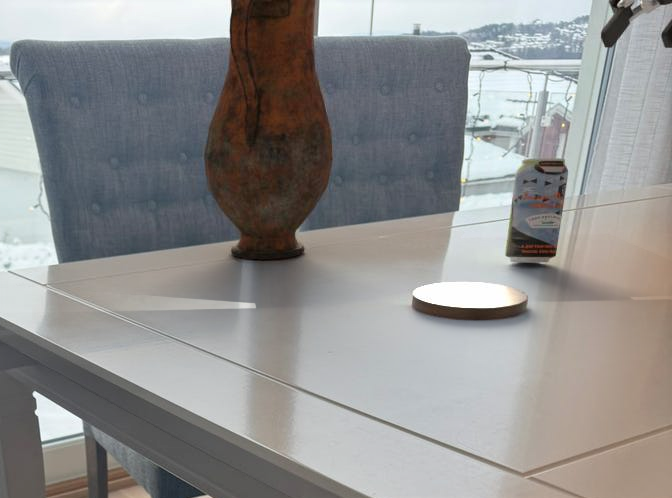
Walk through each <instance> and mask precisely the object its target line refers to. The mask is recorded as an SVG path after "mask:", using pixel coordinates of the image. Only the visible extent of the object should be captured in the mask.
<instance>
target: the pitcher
mask: <svg viewBox="0 0 672 498" xmlns="http://www.w3.org/2000/svg"><path fill="white" fill-rule="evenodd" d="M316 2H317V0H230V6H231V7H230V8H231V13H230V18H229V44H230V45H229V48H230V49H229V58H228V59H229V60H228V68H227V73H226V76H225V78H224V83H223V85H222V89H221V92H220V95H219V98H218V101H217V104H216V106H215V108H214V109H215V110H214V112H213V115H212V117H211V120H210V123H209V126H208V131H207V137H206V143H205V148H204V154H203V158H204V159H203V161H204V169H205V179H206V187H207V189H208V190H209V192H210V193H211V196H212V197H213V199H214V200H215V202H216V204H217V205H218V207H219V209H220V210H221V212H222V213H223V214H224V215H225V216H226V217H227V219H228V220H229V221H230V222H231V223H232V224H233V225H234V226H235V228H236V229H237V231H239V233H240V238H239V239H238V242H237V243H235V244H233V245H232V246H231V249H230V253H231V255H232V254H233V255H232V256H234V255H235V256H238V257H237V258H239V257H241V258H240V259H243V258H246V259H245V260H249V259H259V260H258V261H277V260H276V259H278V260H286V259H291V258H294V257H297V255H298V256H300V255H302V254H303V253H304V252H305V250H306V249H305V245H304V244H303V243H302V242H300V241H299V240H298V239H297V237H296V233H297V232H296V231H297V230H298V229H299V228H300V227H301V226H302V225H303V224H304V222H305V221H306V220H307V218H308V217H309V216H310V215H311V214H312V212H313V211H314V210H315V208H316V206H317V205H318V203H319V201H320V200H321V198H322V196H323V195H324V193H325V192H326V190H327V188H328V186H329V180H330V175H331V171H332V166H333V161H334V150H333V138H332V137H333V136H332V127H331V122H330V118H329V114H328V108H327V104H326V99H325V96H324V93H323V89H322V85H321V83H320V79H319V76H318V72H317V68H316V54H315V53H316V52H315V37H314V35H315V12H316V11H315V10H316ZM235 256H234V257H235ZM290 257H291V258H290ZM285 258H286V259H285Z"/></svg>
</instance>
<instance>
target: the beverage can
mask: <svg viewBox="0 0 672 498" xmlns="http://www.w3.org/2000/svg"><path fill="white" fill-rule="evenodd" d="M514 175H515V176H514V183H513V191H512V197H511V198H512V199H511V206H510V214H509V222H508V229H507V237H506V238H507V239H506V244H505V245H506V246H505V254H504V255H505V257H506V258H509V260H510V263H527V264H529V263H531V264H532V263H534V264H535V263H549V262H550V260H551V259H553V258H555V257H557V251H558V244H559V238H560V229H561V223H562V218H563V212H564V211H563V210H564V205H565V197H566V190H567V185H568V177H569V170H568V167H567V165H566V159H565V158H555V157H553V158H552V157H544V158H540V157H539V158H525V159H522V160H521V164H520V166H519V167H518V168H517V170H516V172H515V174H514Z"/></svg>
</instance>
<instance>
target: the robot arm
mask: <svg viewBox="0 0 672 498" xmlns="http://www.w3.org/2000/svg"><path fill="white" fill-rule="evenodd" d="M636 1H637V0H608V3H609V6H610V8H611V11H612V16H611V17H610V18H609V20H608V21H607V23H606V24H605V25H604V26H603V28H601V31H600V39H601V41H602V44H603V46H604V48H605V49H607V48H609V49H611V48H613V47H614V46H615V45H616V44H617V42H618V40H619V39H620V38H621V37H622V36H623V34H624V33H625V31H626V30H627V28H628V27H629V26H630V25H631V22H632V21H634V20H636V19H637V18H638V17H640V16H641V15H643V14H650V13H652V12H653V11H655V10H657V9H658V8H659V7H661V6H668V5H671V4H672V0H640V4H639V5H637V6H636V7H635V8H632V7H633V5H634V4H635V3H636ZM660 34H661V35H660V38H661V41H662V44H663V47H664V48H665V49H672V18H671V20H670V21H669V22H668V23H667V25H666V26H665V27H664V28H663V30H662V31H661V33H660Z"/></svg>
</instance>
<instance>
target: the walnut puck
mask: <svg viewBox="0 0 672 498" xmlns="http://www.w3.org/2000/svg"><path fill="white" fill-rule="evenodd" d="M411 299H412V300H411V307H412V309H414V310H415V311H417V312H419V313H422V314H424V315H427V316H431V317H436V318H441V319H449V320H456V321H457V320H458V321H496V320H505V319H511V318H515V317H518V316H521V315H523V314H524V313H526V311H527V307H528V301H529V295H528V294H527V293H526V292H524V291H523V290H520V289H517V288H514V287H512V286H511V287H510V286H508V285H507V286H506V285H501V284H495V283H487V282H473V281H472V282H471V281H455V282H454V281H453V282H440V283H432V284H427V285H424V286H423V285H422V286H421V287H418V288H416V289H415V290H413V293H412V298H411Z"/></svg>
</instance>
